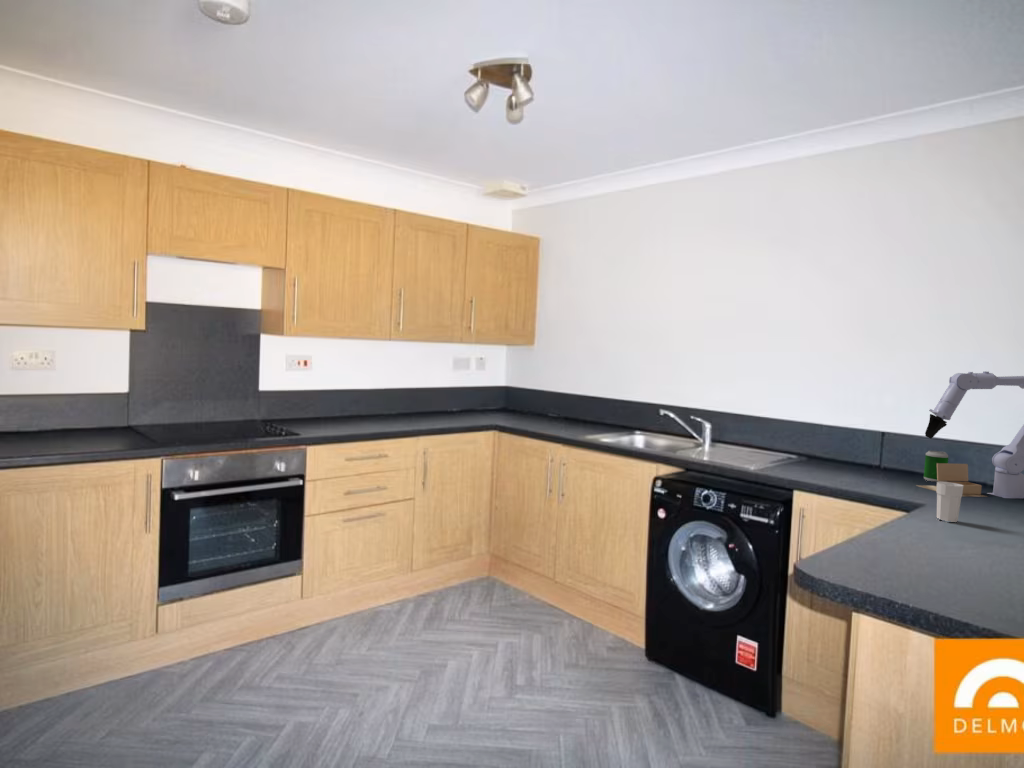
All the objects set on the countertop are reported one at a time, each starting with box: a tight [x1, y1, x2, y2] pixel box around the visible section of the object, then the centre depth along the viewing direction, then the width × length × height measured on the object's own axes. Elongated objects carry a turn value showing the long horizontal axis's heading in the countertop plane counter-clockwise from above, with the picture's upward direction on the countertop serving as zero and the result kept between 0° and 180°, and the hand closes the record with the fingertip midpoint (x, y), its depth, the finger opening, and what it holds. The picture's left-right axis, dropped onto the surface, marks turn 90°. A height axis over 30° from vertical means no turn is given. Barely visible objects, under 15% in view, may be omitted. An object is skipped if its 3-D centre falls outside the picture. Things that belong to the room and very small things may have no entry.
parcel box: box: [938, 481, 983, 495], centre depth 233 cm, size 12×6×4 cm, turn 99°
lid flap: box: [937, 462, 969, 482], centre depth 236 cm, size 12×6×1 cm
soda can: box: [923, 450, 949, 483], centre depth 256 cm, size 8×8×12 cm
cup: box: [936, 481, 964, 523], centre depth 192 cm, size 7×7×11 cm
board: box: [915, 484, 989, 498], centre depth 236 cm, size 14×17×1 cm
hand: (928, 436), depth 236 cm, fingers open, 7 cm apart
